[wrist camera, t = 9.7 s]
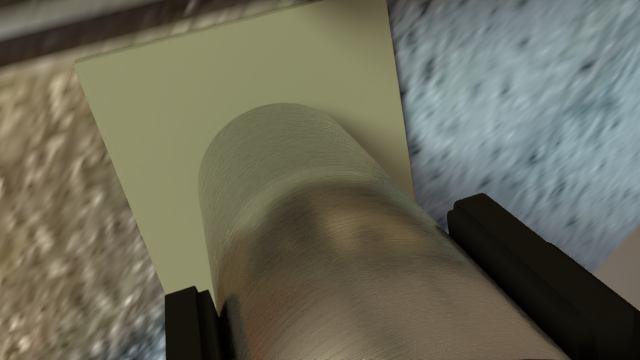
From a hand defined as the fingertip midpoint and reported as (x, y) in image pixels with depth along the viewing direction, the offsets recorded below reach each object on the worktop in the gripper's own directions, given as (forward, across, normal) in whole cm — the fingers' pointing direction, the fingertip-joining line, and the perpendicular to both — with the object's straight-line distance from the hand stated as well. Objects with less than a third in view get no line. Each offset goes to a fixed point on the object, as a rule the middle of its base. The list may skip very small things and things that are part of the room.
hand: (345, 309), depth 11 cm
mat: (+8, 0, 0) cm, 8 cm away
